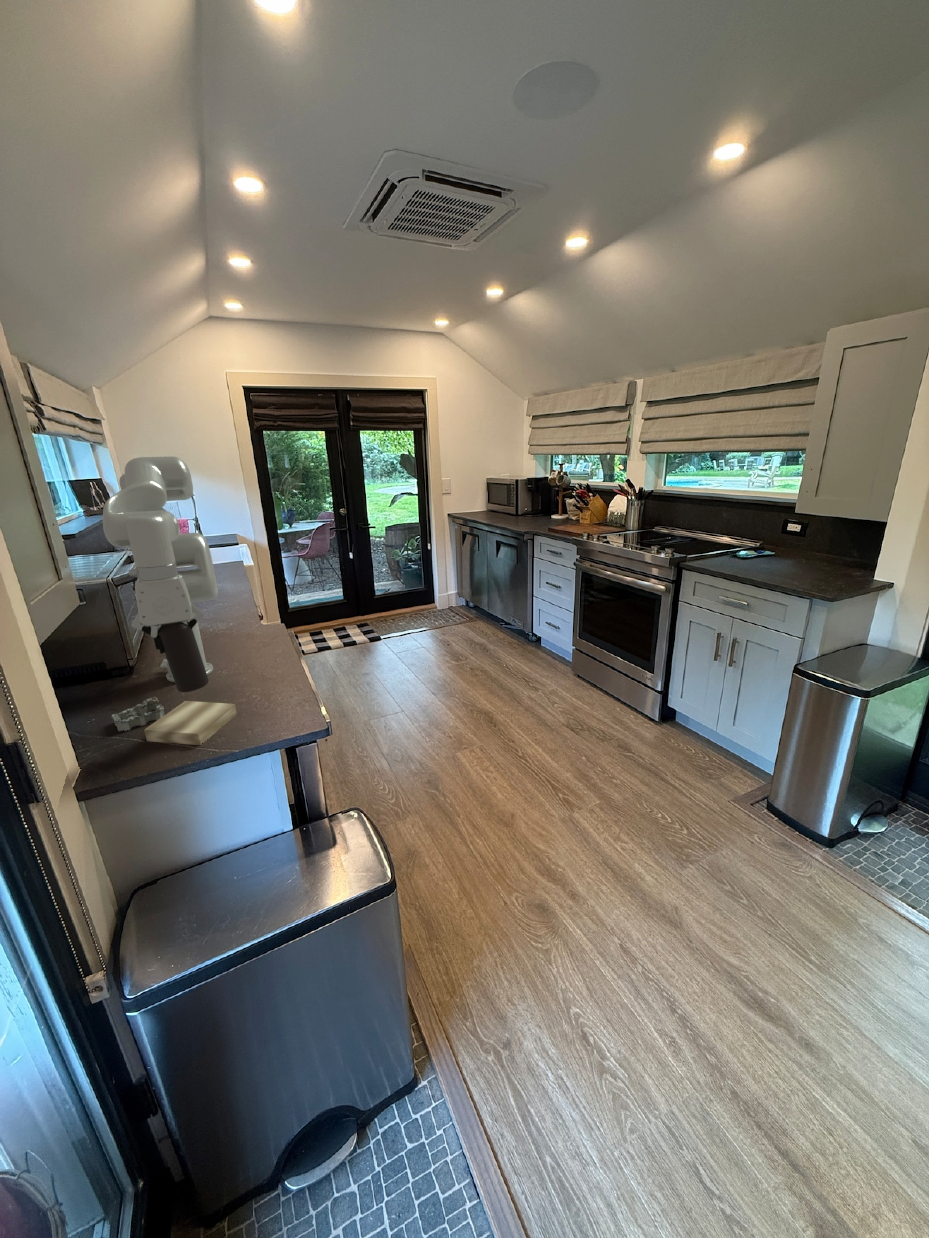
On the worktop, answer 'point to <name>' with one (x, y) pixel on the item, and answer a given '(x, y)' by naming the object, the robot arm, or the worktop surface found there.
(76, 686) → the worktop surface
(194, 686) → the vinegar
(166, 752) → the worktop surface
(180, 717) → the maple base
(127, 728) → the egg carton
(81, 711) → the worktop surface
